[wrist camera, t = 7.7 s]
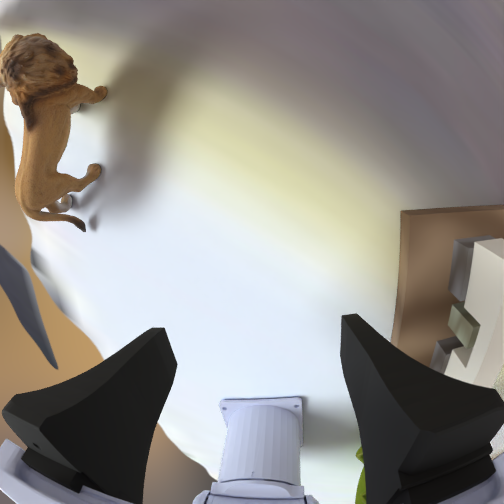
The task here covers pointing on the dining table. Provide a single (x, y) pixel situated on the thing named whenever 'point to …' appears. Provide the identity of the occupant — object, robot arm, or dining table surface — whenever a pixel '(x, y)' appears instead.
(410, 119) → the dining table surface
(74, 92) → the lion figurine
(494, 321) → the cream bar
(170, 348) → the robot arm
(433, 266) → the brown rectangular board
